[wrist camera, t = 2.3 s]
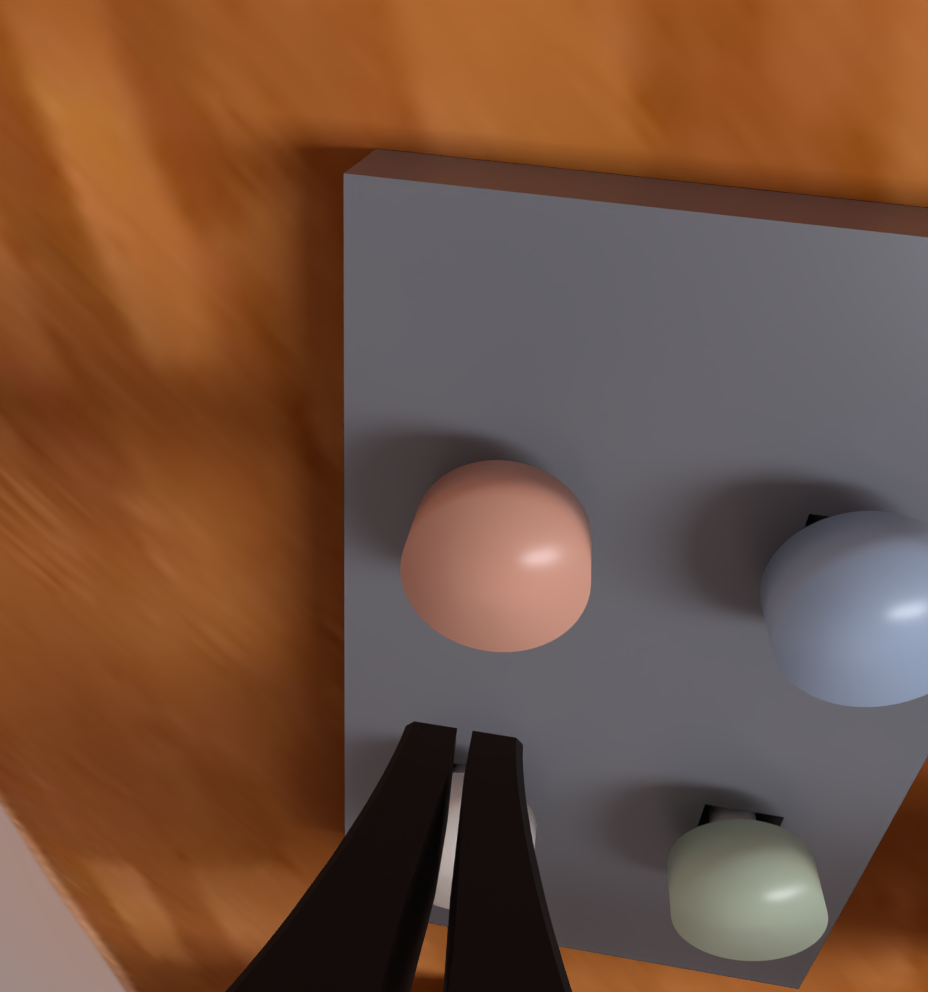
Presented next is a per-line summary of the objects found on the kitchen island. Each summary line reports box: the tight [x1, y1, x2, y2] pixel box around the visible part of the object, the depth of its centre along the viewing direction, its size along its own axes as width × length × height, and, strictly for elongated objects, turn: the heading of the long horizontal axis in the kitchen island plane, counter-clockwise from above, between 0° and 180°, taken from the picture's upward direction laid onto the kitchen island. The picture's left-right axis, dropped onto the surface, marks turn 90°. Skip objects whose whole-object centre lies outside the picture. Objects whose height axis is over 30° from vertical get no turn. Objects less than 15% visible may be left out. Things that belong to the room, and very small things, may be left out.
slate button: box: [760, 511, 928, 707], centre depth 17 cm, size 4×4×4 cm
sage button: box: [667, 805, 828, 961], centre depth 21 cm, size 4×4×4 cm
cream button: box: [433, 763, 536, 909], centre depth 22 cm, size 4×4×4 cm
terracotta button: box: [400, 460, 592, 652], centre depth 17 cm, size 4×4×4 cm
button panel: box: [344, 149, 928, 989], centre depth 21 cm, size 14×22×2 cm, turn 176°
